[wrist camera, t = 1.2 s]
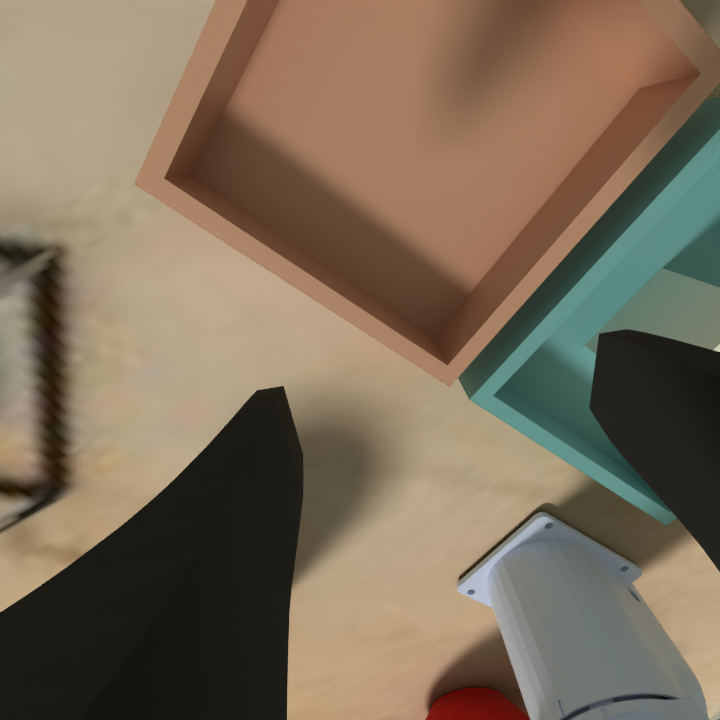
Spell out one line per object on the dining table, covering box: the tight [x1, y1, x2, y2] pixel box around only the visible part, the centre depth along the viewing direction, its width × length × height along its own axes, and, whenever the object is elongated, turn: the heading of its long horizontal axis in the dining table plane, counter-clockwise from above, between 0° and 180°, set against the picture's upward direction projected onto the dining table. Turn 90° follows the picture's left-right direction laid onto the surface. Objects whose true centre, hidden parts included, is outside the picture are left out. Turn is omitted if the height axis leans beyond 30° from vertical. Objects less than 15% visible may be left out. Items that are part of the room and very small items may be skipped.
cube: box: [585, 268, 720, 354], centre depth 18 cm, size 4×4×5 cm
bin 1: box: [134, 0, 720, 387], centre depth 15 cm, size 13×13×4 cm
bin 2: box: [458, 97, 720, 526], centre depth 19 cm, size 13×13×4 cm
